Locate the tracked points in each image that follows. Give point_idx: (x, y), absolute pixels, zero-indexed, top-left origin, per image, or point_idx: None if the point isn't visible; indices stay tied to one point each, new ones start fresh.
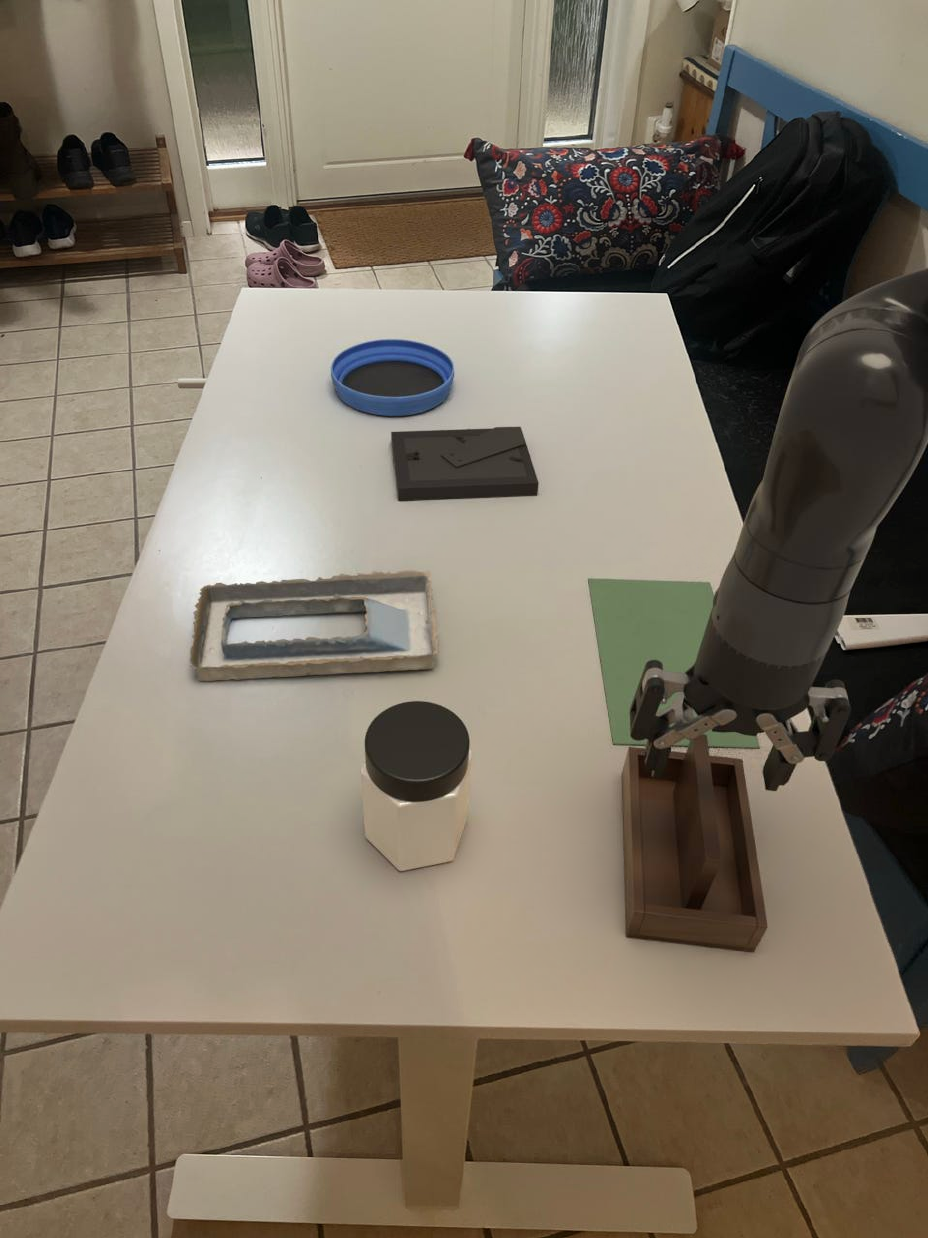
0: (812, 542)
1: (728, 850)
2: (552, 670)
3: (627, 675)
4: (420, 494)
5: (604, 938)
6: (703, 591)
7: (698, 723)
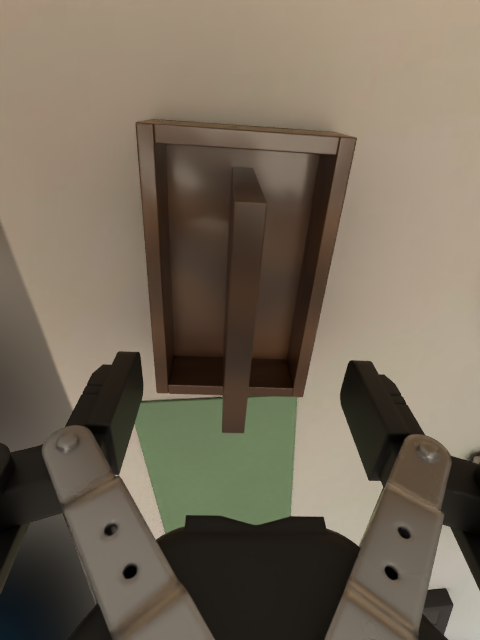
0: None
1: (178, 273)
2: (344, 463)
3: (267, 465)
4: (429, 597)
5: (365, 128)
6: None
7: (421, 576)
